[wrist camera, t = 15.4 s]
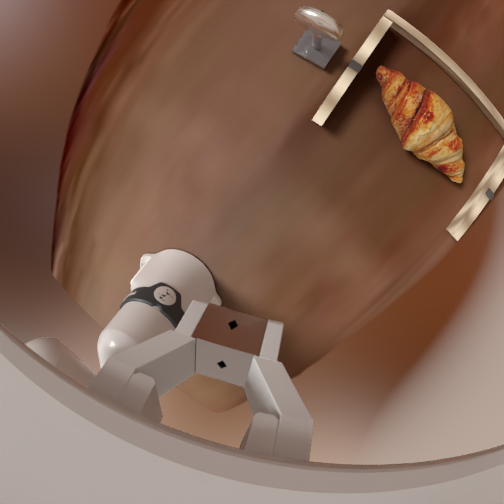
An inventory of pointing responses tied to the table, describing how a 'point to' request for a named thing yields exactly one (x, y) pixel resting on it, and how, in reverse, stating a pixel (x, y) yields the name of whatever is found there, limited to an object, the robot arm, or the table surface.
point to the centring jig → (500, 166)
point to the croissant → (422, 122)
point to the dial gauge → (317, 36)
